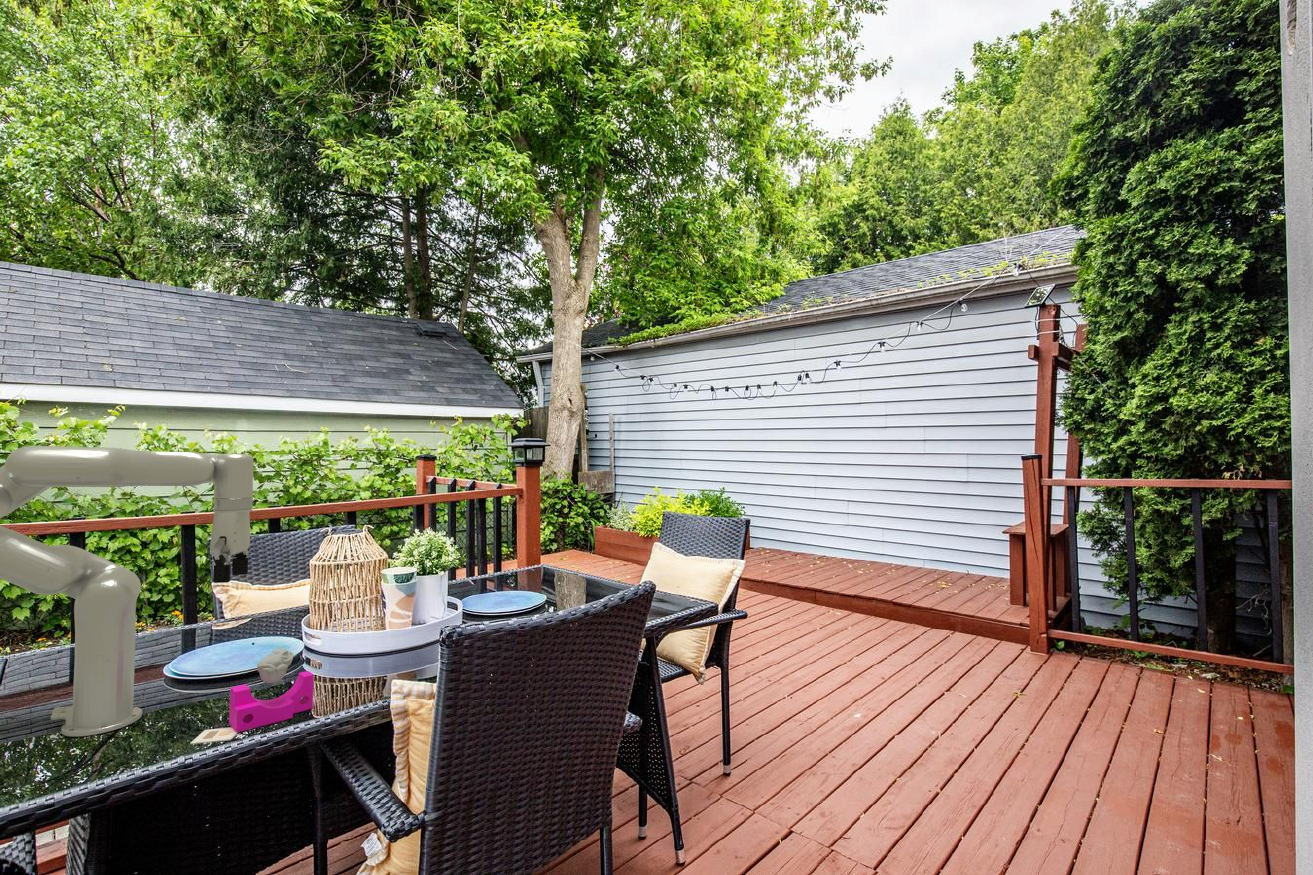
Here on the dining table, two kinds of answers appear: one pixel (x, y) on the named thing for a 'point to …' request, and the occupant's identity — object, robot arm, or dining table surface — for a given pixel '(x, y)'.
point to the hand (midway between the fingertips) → (231, 578)
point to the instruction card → (215, 735)
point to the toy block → (269, 704)
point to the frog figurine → (274, 665)
